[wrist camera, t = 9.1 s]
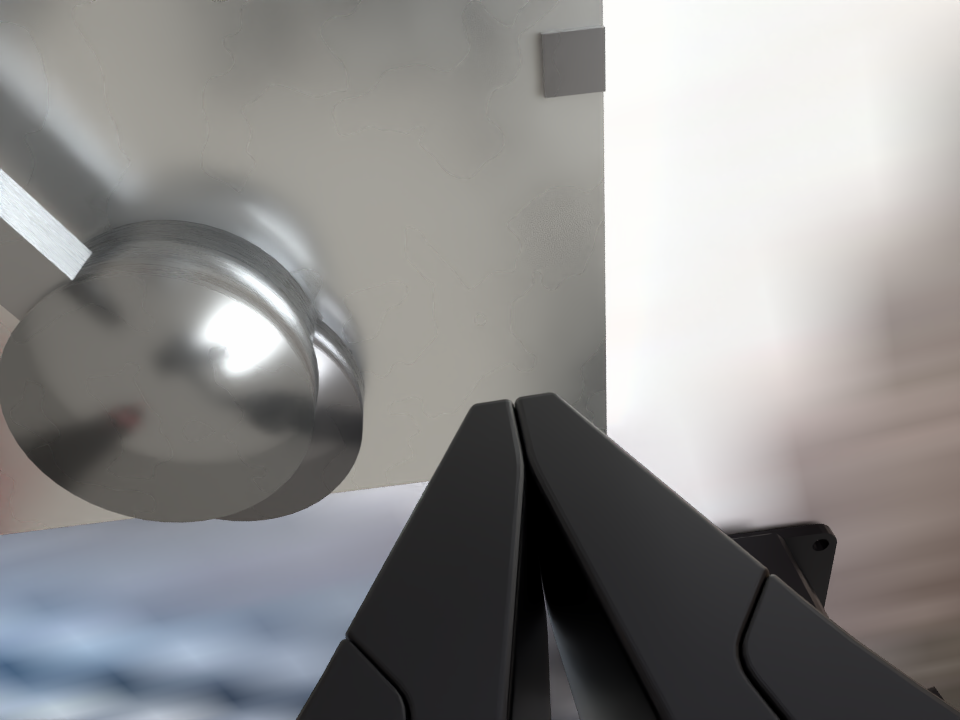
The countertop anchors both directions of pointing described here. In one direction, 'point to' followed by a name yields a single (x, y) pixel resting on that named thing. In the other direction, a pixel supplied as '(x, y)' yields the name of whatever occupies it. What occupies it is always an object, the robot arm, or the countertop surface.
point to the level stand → (339, 186)
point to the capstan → (170, 370)
